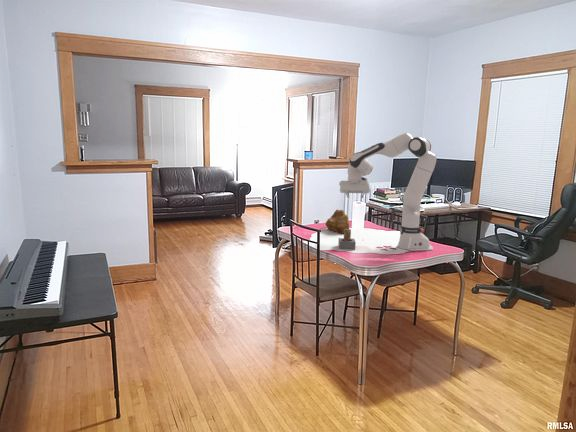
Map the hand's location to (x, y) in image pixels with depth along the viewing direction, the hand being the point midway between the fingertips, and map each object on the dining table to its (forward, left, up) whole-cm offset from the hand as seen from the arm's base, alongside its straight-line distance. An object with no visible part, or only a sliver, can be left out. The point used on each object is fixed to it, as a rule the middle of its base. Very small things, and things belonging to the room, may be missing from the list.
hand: (355, 197), depth 288 cm
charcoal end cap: (+6, +19, -30) cm, 36 cm away
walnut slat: (+6, +19, -30) cm, 36 cm away
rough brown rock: (+9, -36, -32) cm, 49 cm away
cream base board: (+1, +19, -31) cm, 37 cm away
